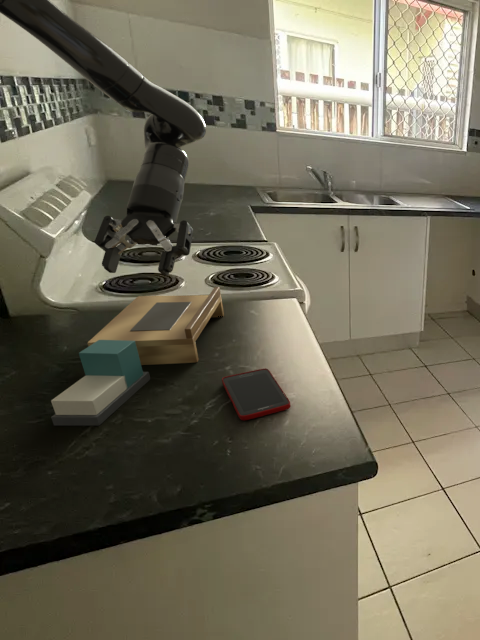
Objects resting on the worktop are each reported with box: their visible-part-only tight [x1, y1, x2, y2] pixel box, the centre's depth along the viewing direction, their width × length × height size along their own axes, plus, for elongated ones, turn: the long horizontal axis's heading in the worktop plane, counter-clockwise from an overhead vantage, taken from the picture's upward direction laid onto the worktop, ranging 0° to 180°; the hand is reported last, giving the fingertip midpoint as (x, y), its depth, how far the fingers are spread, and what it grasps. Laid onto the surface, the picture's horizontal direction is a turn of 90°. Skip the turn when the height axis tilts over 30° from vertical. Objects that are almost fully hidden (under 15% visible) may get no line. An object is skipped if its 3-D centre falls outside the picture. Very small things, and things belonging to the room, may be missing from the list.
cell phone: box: [221, 368, 292, 421], centre depth 81 cm, size 8×15×1 cm, turn 39°
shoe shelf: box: [87, 286, 225, 366], centre depth 96 cm, size 16×24×7 cm, turn 18°
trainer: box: [50, 340, 151, 427], centre depth 75 cm, size 14×6×8 cm, turn 8°
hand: (136, 272), depth 83 cm, fingers open, 8 cm apart
